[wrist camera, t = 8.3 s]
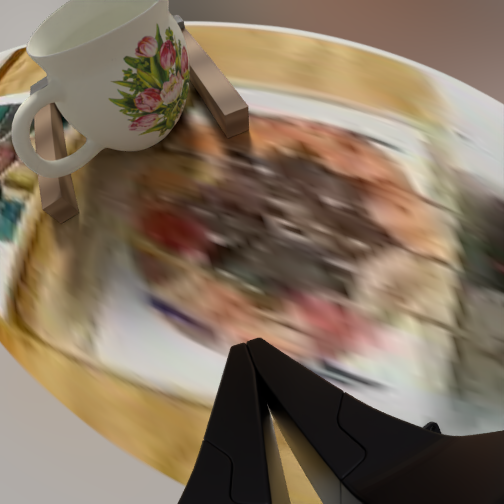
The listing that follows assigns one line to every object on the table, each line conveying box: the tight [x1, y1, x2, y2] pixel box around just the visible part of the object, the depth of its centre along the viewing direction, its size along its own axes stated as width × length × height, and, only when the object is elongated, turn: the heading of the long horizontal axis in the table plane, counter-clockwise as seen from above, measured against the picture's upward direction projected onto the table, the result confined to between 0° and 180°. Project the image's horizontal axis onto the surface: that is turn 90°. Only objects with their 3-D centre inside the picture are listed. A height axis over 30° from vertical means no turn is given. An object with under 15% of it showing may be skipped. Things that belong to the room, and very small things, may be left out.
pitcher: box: [12, 0, 190, 178], centre depth 19 cm, size 11×18×14 cm, turn 150°
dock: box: [30, 15, 249, 223], centre depth 25 cm, size 17×18×4 cm
